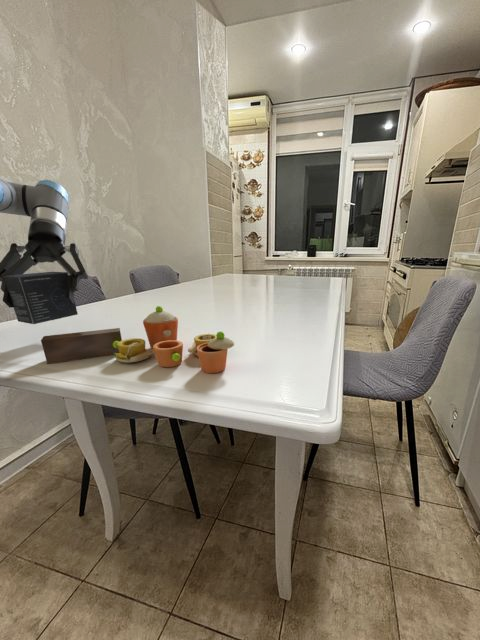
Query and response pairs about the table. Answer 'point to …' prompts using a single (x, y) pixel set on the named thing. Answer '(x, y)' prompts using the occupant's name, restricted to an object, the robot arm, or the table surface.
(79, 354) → the block
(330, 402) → the table surface
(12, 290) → the box
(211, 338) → the toy tea set
